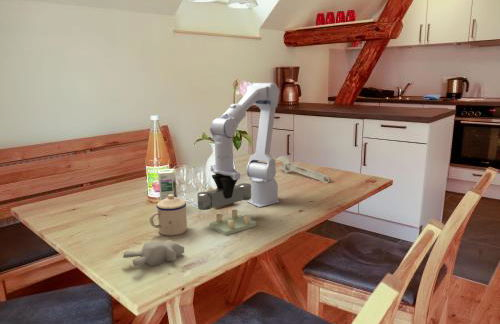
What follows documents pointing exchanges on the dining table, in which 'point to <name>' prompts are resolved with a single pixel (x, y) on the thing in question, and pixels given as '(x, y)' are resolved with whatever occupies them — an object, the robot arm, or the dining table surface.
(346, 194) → the dining table surface
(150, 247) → the bunny figurine
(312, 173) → the wrench
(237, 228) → the rack
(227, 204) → the slot block
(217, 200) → the ball-knob grey rod
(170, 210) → the teacup with lid
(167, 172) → the syrup box
